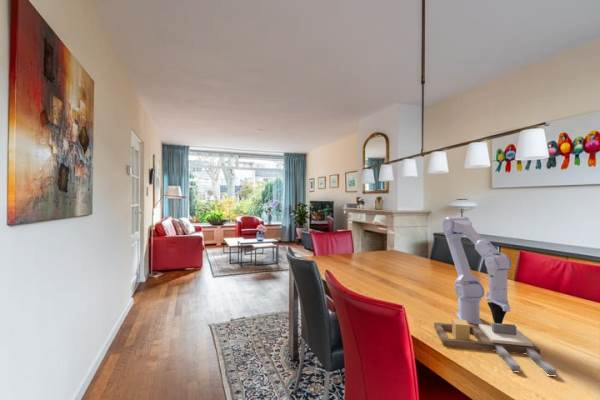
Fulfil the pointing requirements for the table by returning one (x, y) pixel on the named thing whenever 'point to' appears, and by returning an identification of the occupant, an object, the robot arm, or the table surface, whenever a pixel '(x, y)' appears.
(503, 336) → the slide cover
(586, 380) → the table surface
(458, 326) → the ochre block
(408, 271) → the table surface
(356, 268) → the table surface
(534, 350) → the brown flat frame
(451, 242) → the robot arm
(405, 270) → the table surface
